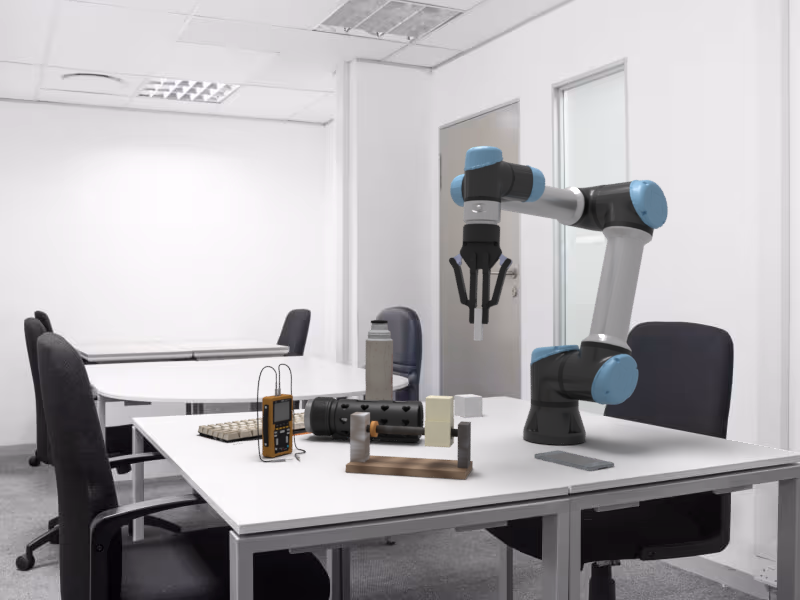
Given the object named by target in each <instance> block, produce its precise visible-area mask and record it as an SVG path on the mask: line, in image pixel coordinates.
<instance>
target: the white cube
mask: <svg viewBox="0 0 800 600" xmlns="http://www.w3.org/2000/svg"><path fill="white" fill-rule="evenodd" d="M453 396H454V416H456V417H459V416H460V418H463V419H467V418H468V419H470V418H471V419H472V418H482V417H483V396H482V395H477V394H472V393H468V394H454V395H453Z"/></svg>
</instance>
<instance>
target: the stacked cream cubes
mask: <svg viewBox="0 0 800 600" xmlns="http://www.w3.org/2000/svg"><path fill="white" fill-rule="evenodd" d="M454 396H455V395H453V396H452V395H451V396H449V395H428V396H426V397H425V400H424V401H425V406H424V407H425V410H424V411H425V413H424V416H425V417H424V420H425V421H424V427H425V435H424V447H432V448H451V447H452V446H453V444H454V442H455V437H451V429H455V418H454V416H455V415H454Z"/></svg>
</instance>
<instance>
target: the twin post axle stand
mask: <svg viewBox="0 0 800 600" xmlns="http://www.w3.org/2000/svg"><path fill="white" fill-rule="evenodd" d="M471 423H472V421H460V422H459V423H458V424H457V428H454V429H451V437H454V438H457V459H443V458H441V459H440V458H425V457H424V458H421V457H410V456H409V457H407V456H406V457H405V456H390V455H389V456H385V455H371V452H370V451H371V450H370V449H371V447H370V446H371V444H370V443H371V442H370V441H371V440H370V435H371V437H377V436H378V433H385V434H405V435H422V436H425V426H423V427H406V426H384V425H379V424H378V421H372V422H371V425H370V413H368V412H355V413H353V414H351V415H350V437H349V441H350V443H349V447H350V448H349V453H350V454H349V457H350V458H349V462H347V463H346V464H345V473H354V474H367V475H370V474H371V475H385V476H399V477H402V476H403V477H418V478H432V479H433V478H434V479H450V480H451V479H453V480H466V479H467V477H468V476H469V474H470V473H471V472H472V470H473V468H474V467H473V466H474V465H473V460H472V458H471V457H472V456H471V451H472V449H471V448H472V447H471V446H472V445H471V442H472V441H471V439H472V434H471V433H472V430H471V429H472V426H471V425H472V424H471Z"/></svg>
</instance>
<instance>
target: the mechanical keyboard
mask: <svg viewBox="0 0 800 600" xmlns="http://www.w3.org/2000/svg"><path fill="white" fill-rule="evenodd" d="M258 422H259V441H260V440H262V417H258ZM197 433H198V434H196V436H199V437H202V438H205V439H208V440H213V441H218V442H219V441H220V442H225V443H233V446H235V445H236V444H234V443H236V442H237V443H239V442H241V443H239V445H241V444H243V442H248V441H249V442H252V441H258V431H257V417H256V418H249V419H248V420H247V419H243V420H242V419H241V420H240V421H239V420H235V421H232V422H230V421H227V422H224V423H222V422H219V423H215V424H213V423H211V424H207V425H198V430H197ZM292 433H293V432H292ZM294 433H295V436H303V435H309V434H312V433H308V432H307V431H306V429H305V425H304V411H303V412H296V413H295V412H294ZM293 437H294V434H293Z"/></svg>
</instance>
